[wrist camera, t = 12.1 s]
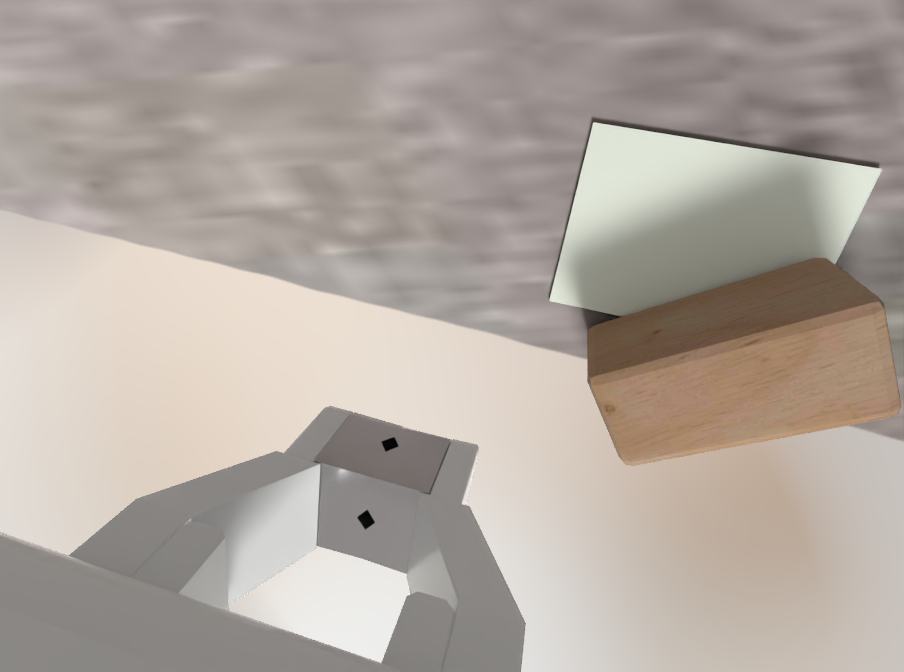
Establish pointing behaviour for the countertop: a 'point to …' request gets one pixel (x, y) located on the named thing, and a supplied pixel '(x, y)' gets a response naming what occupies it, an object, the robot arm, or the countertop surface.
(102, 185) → the countertop surface
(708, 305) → the wooden block
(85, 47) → the countertop surface
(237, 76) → the countertop surface
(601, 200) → the mat
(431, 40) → the countertop surface
